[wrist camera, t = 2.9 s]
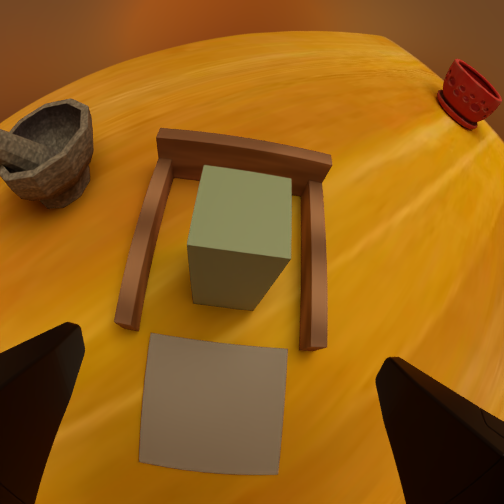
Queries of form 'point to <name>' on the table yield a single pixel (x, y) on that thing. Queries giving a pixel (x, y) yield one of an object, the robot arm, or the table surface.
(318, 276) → the frame
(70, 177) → the mortar and pestle
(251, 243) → the green block
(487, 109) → the plant pot
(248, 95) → the table surface
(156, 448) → the felt mat
